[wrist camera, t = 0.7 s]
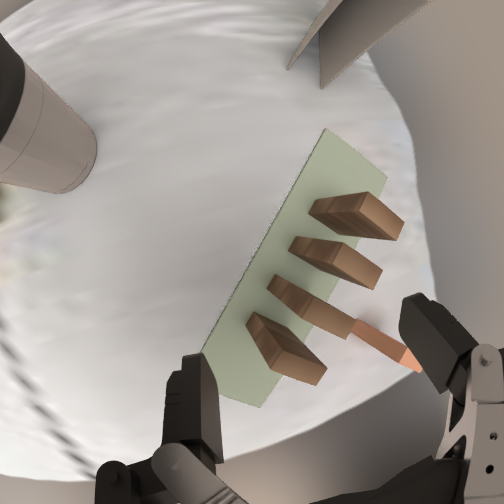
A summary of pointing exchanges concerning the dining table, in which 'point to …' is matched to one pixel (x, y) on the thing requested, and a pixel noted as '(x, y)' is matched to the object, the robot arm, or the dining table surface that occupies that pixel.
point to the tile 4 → (336, 260)
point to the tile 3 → (311, 307)
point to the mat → (285, 269)
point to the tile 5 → (357, 216)
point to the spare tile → (386, 345)
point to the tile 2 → (284, 350)
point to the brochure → (354, 30)
